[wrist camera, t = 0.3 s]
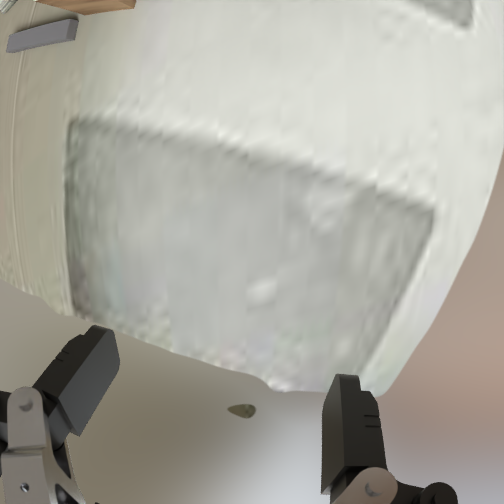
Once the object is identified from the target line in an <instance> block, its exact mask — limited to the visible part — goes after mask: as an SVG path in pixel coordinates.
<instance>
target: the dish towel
mask: <svg viewBox="0 0 504 504" xmlns="http://www.w3.org/2000/svg"><path fill="white" fill-rule="evenodd" d="M16 1H17V0H0V11H1V12H2V13H3V14H4V13H6V12H7V11H8V10H9V9H10V8H11V7H12V6H13V5H14V4H15V2H16Z"/></svg>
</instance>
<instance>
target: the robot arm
mask: <svg viewBox="0 0 504 504" xmlns="http://www.w3.org/2000/svg"><path fill="white" fill-rule="evenodd" d="M119 365H120V358H119V354H118V349H117V344H116V340H115V335H114V332H113V330H111V329H107V328H104V327H100V326H97V325H93V326H91V327H90V329H89V330H88V331H87V332H86V333H85V335H81V334H80V335H78V336H76V337H75V338H73V339H72V340H70V341H69V342H68V343H67V344H66V345H65V347H64V348H63V349H62V351H61V352H60V353H59V354H58V355H57V356H56V359H54V360H53V361H52V362H51V364H50V365H49V366H48V367H47V369H46V370H45V371H44V372H43V374H42V375H41V376H40V377H39V379H38V380H37V381H36V383H35V384H34V385H33V386H32V387H21V388H18V389H16V390H15V391H14V392H13V393H9V392H4V391H0V477H1V475H2V478H3V486H4V495H5V502H6V504H86V503H85V500H84V497H83V495H82V493H81V491H80V489H79V487H78V485H77V483H76V479H75V475H74V471H73V467H72V462H71V458H70V453H69V448H68V443H67V439H66V437H67V435H68V433H69V432H71V433H73V434H75V435H77V436H80V435H81V433H82V431H83V430H84V428H85V426H86V424H87V423H88V421H89V419H90V418H91V416H92V414H93V412H94V411H95V409H96V407H97V406H98V404H99V402H100V400H101V399H102V397H103V396H104V394H105V392H106V391H107V389H108V387H109V386H110V384H111V382H112V381H113V379H114V378H115V376H116V374H117V372H118V370H119ZM321 477H322V478H321V494H323V495H330V504H458V500H457V495H456V492H455V491H454V489H453V488H452V487H451V486H449V485H448V484H445V483H442V482H437V483H433V484H430V485H429V486H428V487H426V488H420V487H416V486H411V485H407V484H403V483H401V482H399V481H397V480H396V479H395V477H394V476H393V475H392V474H391V473H390V472H389V471H388V469H387V465H386V459H385V451H384V443H383V436H382V430H381V422H380V418H379V410H378V404H377V401H376V400H375V398H374V397H373V395H372V394H371V392H370V391H361V387H360V380H359V377H358V376H357V375H346V374H336V375H335V377H334V380H333V382H332V385H331V387H330V389H329V392H328V394H327V396H326V399H325V402H324V406H323V411H322V475H321ZM95 504H99V503H95Z"/></svg>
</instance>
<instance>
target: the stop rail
mask: <svg viewBox="0 0 504 504" xmlns="http://www.w3.org/2000/svg"><path fill="white" fill-rule="evenodd" d="M78 22H79V21H77V20H74V19H66V20H61V21H57V22H53V23H49V24H45V25H41V26H38V27H34V28H31V29H27V30H24V31H21V32H17V33H14V34H11V35H9V39H8V44H7V50H6V52H9V53H15V52H19V51H23V50H27V49H31V48H36V47H40V46H45V45H50V44H55V43H60V42H66V41H72V40H75V36H76V31H77V26H78Z"/></svg>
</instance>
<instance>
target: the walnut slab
mask: <svg viewBox="0 0 504 504" xmlns="http://www.w3.org/2000/svg"><path fill="white" fill-rule="evenodd" d="M34 1H35V2H39V3H43V4H47V5H51V6H55V7H59V8H63V9H66V10H70V11H73V12H76V13H80V14H83V15H89V14H95V13H102V12H109V11H116V10H124V9H134V7H135V3H136V0H34Z"/></svg>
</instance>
